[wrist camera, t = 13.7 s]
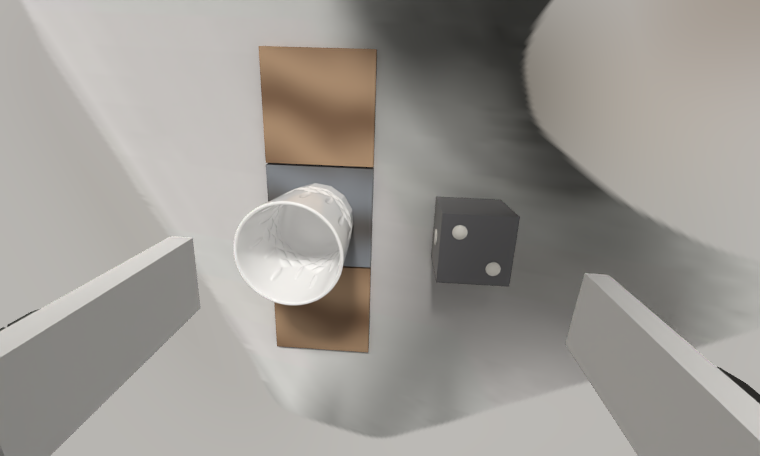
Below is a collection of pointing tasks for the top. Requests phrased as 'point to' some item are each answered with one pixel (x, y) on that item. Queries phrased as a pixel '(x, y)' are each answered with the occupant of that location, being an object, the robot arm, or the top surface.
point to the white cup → (295, 244)
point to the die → (473, 241)
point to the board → (324, 173)
